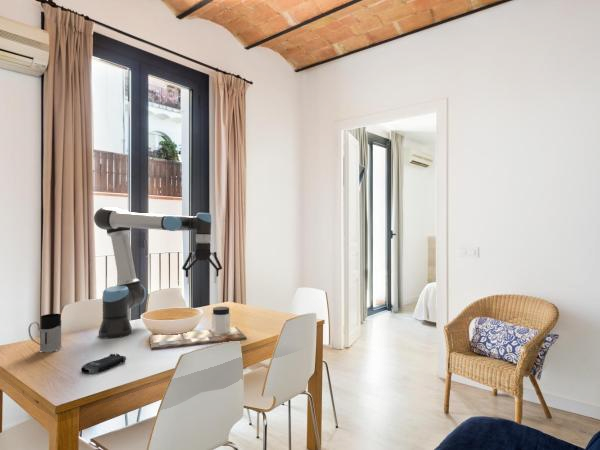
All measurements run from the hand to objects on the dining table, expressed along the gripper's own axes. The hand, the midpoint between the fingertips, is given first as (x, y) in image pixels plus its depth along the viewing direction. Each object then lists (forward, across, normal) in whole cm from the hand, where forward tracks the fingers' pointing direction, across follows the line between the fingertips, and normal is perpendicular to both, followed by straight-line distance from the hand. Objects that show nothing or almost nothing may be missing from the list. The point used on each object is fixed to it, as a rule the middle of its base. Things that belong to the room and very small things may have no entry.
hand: (201, 283), depth 206 cm
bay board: (+24, -3, -15) cm, 29 cm away
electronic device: (+26, -43, -41) cm, 65 cm away
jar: (+23, +8, -12) cm, 27 cm away
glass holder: (+26, -67, -11) cm, 73 cm away
